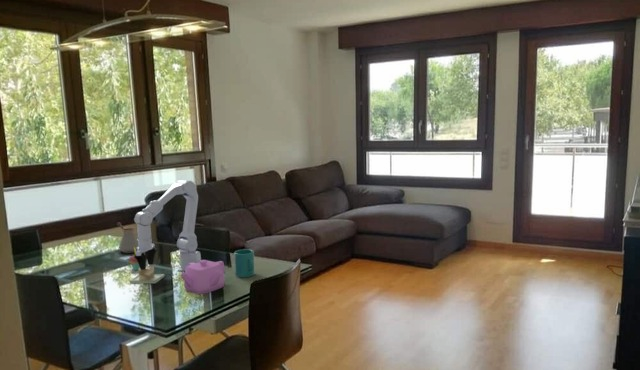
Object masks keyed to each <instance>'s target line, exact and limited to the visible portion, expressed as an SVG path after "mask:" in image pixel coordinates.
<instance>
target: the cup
mask: <svg viewBox="0 0 640 370" xmlns="http://www.w3.org/2000/svg"><path fill="white" fill-rule="evenodd" d="M233 253H234V254H233V255H234V257H233V258H234V271H235V272H234V274H235V276H236V277H237V278H242V279H244V278H251V277H253V276H254V275H256V270H255V269H256V268H255V267H256V266H255V252H254V250H253V249H245V248H243V249H238V250H235V251H234V252H233Z"/></svg>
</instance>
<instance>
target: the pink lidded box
mask: <svg viewBox="0 0 640 370" xmlns="http://www.w3.org/2000/svg"><path fill="white" fill-rule="evenodd" d="M225 273H226V270H225V264H224V261H222V260H219V261H211V260H207V259H201V261H199V263H189V266H187V267H186V269H185V271H184V272H182V273H180V277H181V278H182V280H183V285H184V289H185V291H187V292H189V291H190V293H192V294H196V295H200V296H201V295H204V294H205V295H206V294H208V293H211V292H214V291H215V292H216V290H217V291H218V290H219V289H221V288H224V285H225V275H224V274H225Z"/></svg>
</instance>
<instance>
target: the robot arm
mask: <svg viewBox="0 0 640 370" xmlns="http://www.w3.org/2000/svg"><path fill="white" fill-rule="evenodd" d="M197 187H198V186H197V185H196V183H195V182H194V181H192V180H185V179H177V180H176V181H175V182H174V183H172V184H171V186H170V187H169V188H168V189H167V190H166V191H165V192H164V193H163V194H162V196H160V197H159V198H158V199H156V200H151V201H150V202H149V204H148V205H147V206H146V207H145V208H142V209H141V211H138V212H136V214H135V216H134V218H133V221H134V223H135V224H136V227H137V228H136V230H137V240H138V244H139V247H137V248H136V249H138V250H137V251H136V254H135V253H134V254H133V255H134V257H135V258H136V260H137V262H138V264H139V266H140V269H141V270H145V269H146V266H154V261H155V256H156V254H157V250H158V249H157V248H156V247H155V243H152V231H151V230H152V229H151V224H152V223H153V220H154V218H155V217H156V216H157V215H158V214H159V213H161V212H162V211H163V210H164V206H165V205H166V204H167V203H168V202H169V201H170V200H172V199H173V198H174V197H175V196H178V195H182V197H184V198H185V200H186V203H185V209H184V210H185V211H184V218H183V226H182V231H181V232H180V233H179V237H178V239H177V241H176V246H177V248H178V249H179V259H180V260H179V261H180V267H179V268H178V269H177V272H178V271H179V272H180V271H181V272H185V269H186V267H187V266H189V263H199V261H201V260H202V257H201V256H202V255H201V251H198V250H197V249H198V240H197V238H198V237H197V235H196V233H195V229H196V227H195V226H196V219H197V211H198V205H199V204H198V203H199V194H198V190H197ZM146 259H147V261H146Z"/></svg>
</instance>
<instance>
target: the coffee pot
mask: <svg viewBox="0 0 640 370" xmlns="http://www.w3.org/2000/svg"><path fill="white" fill-rule="evenodd" d="M117 225H118V226H119V227H120V228H121V229H122V232H123V234H122V238H121V240H120V242H119V246H118V249H119V251H121V252H122V253H124V254H131V253H135V252H134V247H135V249H136V248H137V247H139V244H138V237H136V234H135V233H134V232H135V231H134V230H135V228H133V227H129V228H124V226H123V225H122V223H121V222H120V221H118V222H117ZM137 250H138V249H136V251H137Z"/></svg>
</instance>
